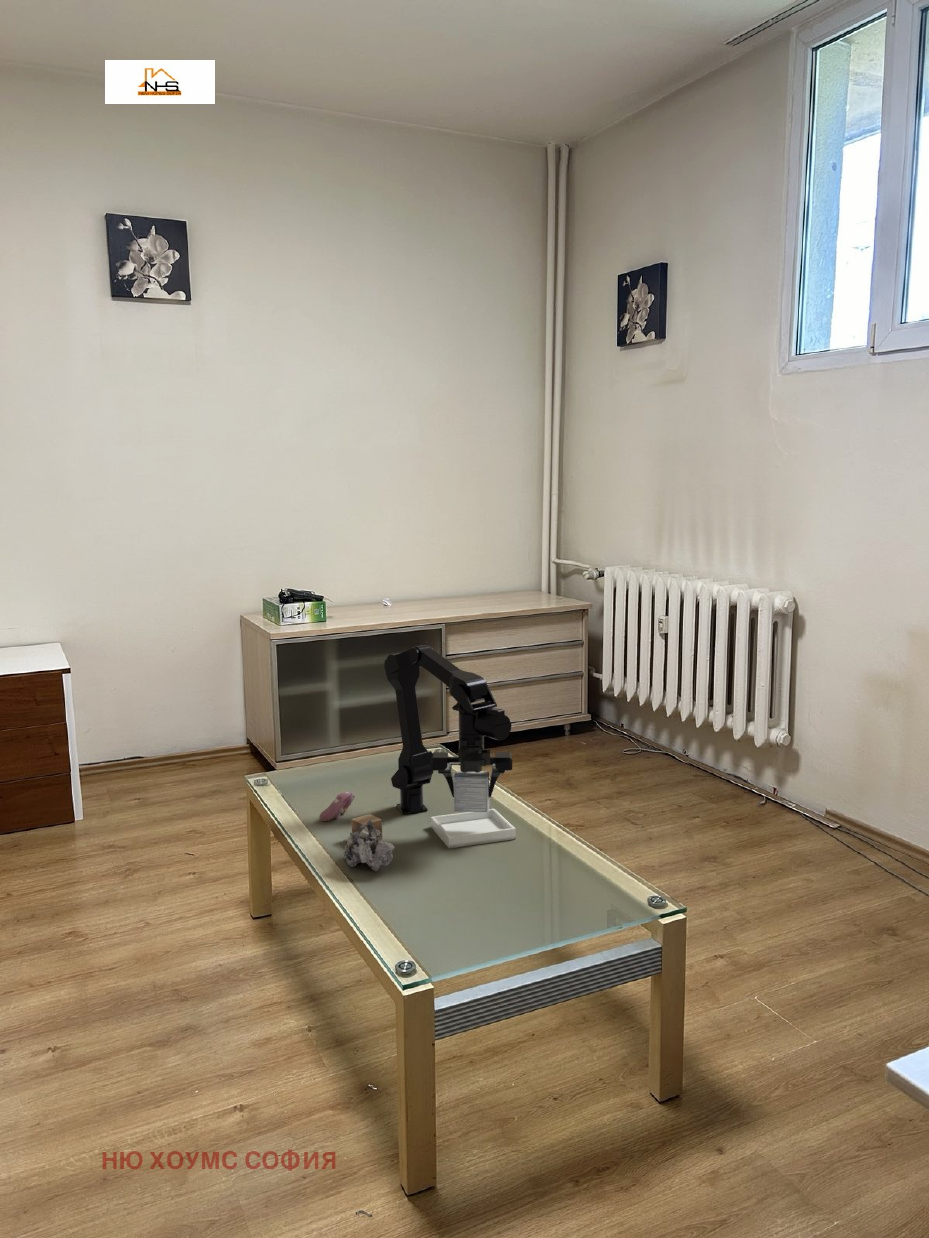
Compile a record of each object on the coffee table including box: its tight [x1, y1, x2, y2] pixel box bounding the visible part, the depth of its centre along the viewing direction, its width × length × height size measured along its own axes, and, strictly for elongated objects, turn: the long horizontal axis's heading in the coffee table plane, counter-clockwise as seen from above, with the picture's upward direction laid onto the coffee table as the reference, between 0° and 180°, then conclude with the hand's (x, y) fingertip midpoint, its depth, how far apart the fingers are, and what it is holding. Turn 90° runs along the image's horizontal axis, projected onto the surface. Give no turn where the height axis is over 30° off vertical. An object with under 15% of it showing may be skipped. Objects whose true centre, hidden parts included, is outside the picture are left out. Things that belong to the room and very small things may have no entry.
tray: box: [430, 808, 517, 849], centre depth 215 cm, size 14×16×2 cm
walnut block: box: [351, 813, 383, 842], centre depth 211 cm, size 5×5×5 cm
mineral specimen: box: [343, 820, 396, 873], centre depth 197 cm, size 13×10×11 cm
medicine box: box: [453, 770, 490, 813], centre depth 213 cm, size 8×4×9 cm, turn 84°
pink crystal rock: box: [319, 791, 356, 822], centre depth 227 cm, size 10×5×7 cm, turn 162°
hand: (471, 796), depth 214 cm, fingers closed on medicine box, 8 cm apart
